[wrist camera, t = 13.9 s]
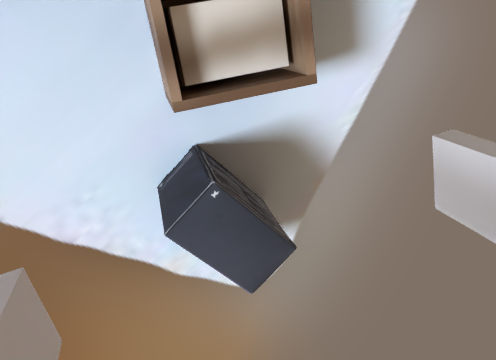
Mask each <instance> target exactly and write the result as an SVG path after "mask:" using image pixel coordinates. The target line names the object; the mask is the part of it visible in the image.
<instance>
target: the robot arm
mask: <svg viewBox="0 0 496 360" xmlns="http://www.w3.org/2000/svg"><path fill="white" fill-rule="evenodd" d="M432 139H433V162H434V163H433V164H434V187H435V188H434V189H435V208H436V209H438V210H439V211H441V212H443V213H445V214H446V215H448V216H450V217H451V218H453V219H455V220H457V221H458V222H460V223H462V224H463V225H465V226H467V227H468V228H470V229H472V230H474V231H475V232H477V233H479V234H481V235H482V236H484V237H486V238H487V239H489V240H491V241H492V242H494V243H496V143H495V142H492V141H488V140H485V139H482V138H479V137H476V136H472V135H469V134H465V133H463V132H460V131H456V130H453V129H452V130H448V131H445V132H443V133H439V134H436V135H433V136H432ZM61 343H62V339H61V338H60V336H59V334H58V332H57V330H56V328H55V326H54V325H53V323H52V321H51V319H50V317H49V315H48V313H47V311H46V310H45V308H44V306H43V304H42V302H41V300H40V299H39V297H38V295H37V293H36V291H35V289H34V287H33V285H32V283H31V281H30V280H29V278H28V276H27V274H26V272H25V270H24V269H23V268H20V269H17V270H14V271H11V272H8V273H4V274H1V275H0V360H58V357H59V352H60V348H61Z"/></svg>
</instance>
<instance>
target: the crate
mask: <svg viewBox="0 0 496 360" xmlns="http://www.w3.org/2000/svg"><path fill="white" fill-rule="evenodd" d="M144 2H145V7H146V11H147V15H148V20H149V24H150V28H151V33H152V37H153V41H154V46H155V50H156V55H157V59H158V63H159V68H160V72H161V76H162V81H163V85H164V89H165V94H166V97H167V99H168V101H169V103H170V105H171V107H172V109H173V111H174V113H176V112H181V111H186V110H190V109H195V108H200V107H205V106H210V105H214V104H219V103H224V102H229V101H234V100H239V99H243V98H248V97H253V96H258V95H263V94H267V93H272V92H277V91H282V90H287V89H292V88H296V87H301V86H306V85H311V84H316V83H317V75H316V64H315V52H314V40H313V28H312V16H311V4H310V0H144Z"/></svg>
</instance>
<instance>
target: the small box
mask: <svg viewBox="0 0 496 360" xmlns="http://www.w3.org/2000/svg"><path fill="white" fill-rule="evenodd" d="M157 188H158V193H159V199H160V206H161V213H162V220H163V226H164V235H165V236H166V237H168V238H169V239H171V240H172V241H173V242H175V243H176V244H178V245H180V246H181V247H183V248H184V249H186V250H187V251H189V252H190V253H192V254H193V255H195V256H196V257H197V258H199V259H200V260H202V261H203V262H205V263H206V264H208V265H209V266H211V267H212V268H214V269H215V270H217V271H218V272H220V273H221V274H223V275H224V276H226V277H227V278H229V279H230V280H231V281H233V282H234V283H236V284H237V285H239V286H240V287H242V288H243V289H245V290H246V291H247V292H249V293H251V294H252V293H253V292H255V291H256V290H257V289H258V288H259V287H260V286H261V285H262V284H263V283H264V282H265V281H266V280H267V279H268V278H269V277H270V276H271V274H273V273H274V271H275V270H276V269H277V268H278V267H279V266H280V265H281V264H282V263H283V262H284V261H285V260H286V259H287V258H288V257H289V256H290V255H291V254H292V253H293V252H294V250H296V245H295V244H294V243H293V242H292V241H291V239H290V238H289V237H288V236H287V235H286V234H285V232H284V231H283V229H282V228H281V226H280V225H279V224H278V222H277V221H276V219H275V218H274V216H273V215H272V214H271V212H270V211H269V209H268V208H267V206H266V204H265V203H264V201H263V200H262V199H260V198H259V197H258V196H257V195H256V194H255V193H253V192H252V191H251V190H250V189H249V188H247V187H246V186H245V185H244V184H243V183H241V182H240V181H239V180H238V179H237V178H236V177H234V176H233V175H232V174H231V173H230V172H229V171H227V169H226V168H224V167H223V166H222V165H220V164H219V163H218V162H217V161H216V160H214V159H213V158H212V157H211V156H209V155H208V154H207V153H206V152H204V151H203V150H202V149H201V148H200V147H199V146H198V145H194V146H192V148H191V149H190V150H189V152H188V153H187V154H186V155H185V156H184V158H183V159H182V160H181V161H180V162H179V163H178V164H177V165H176V167H174V168H173V170H172V171H171V172H170V173H169V174H167V175H166V177H165V178H164V179H163V181H162V182H161V183H160V184H159V186H158V187H157Z"/></svg>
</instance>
